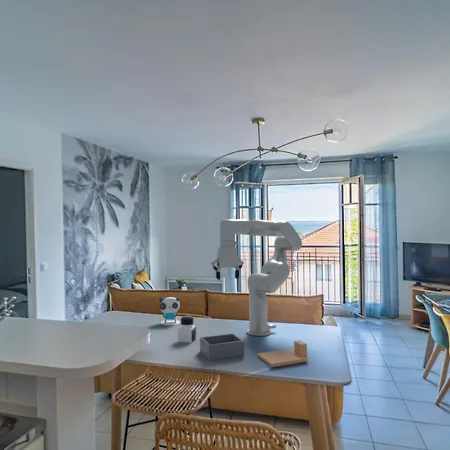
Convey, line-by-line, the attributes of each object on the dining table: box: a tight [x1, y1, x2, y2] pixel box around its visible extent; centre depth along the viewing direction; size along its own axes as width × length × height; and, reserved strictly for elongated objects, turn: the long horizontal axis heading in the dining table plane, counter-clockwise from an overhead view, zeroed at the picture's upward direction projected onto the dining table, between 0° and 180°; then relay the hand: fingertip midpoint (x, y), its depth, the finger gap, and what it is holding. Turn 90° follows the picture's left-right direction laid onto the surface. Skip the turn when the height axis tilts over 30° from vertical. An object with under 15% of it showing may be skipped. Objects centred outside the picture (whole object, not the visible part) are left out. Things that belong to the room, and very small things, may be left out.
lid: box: [256, 340, 309, 368], centre depth 146 cm, size 19×13×7 cm, turn 111°
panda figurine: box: [158, 296, 181, 326], centre depth 206 cm, size 12×11×15 cm
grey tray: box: [199, 332, 245, 362], centre depth 152 cm, size 16×12×7 cm
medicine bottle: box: [177, 315, 197, 344], centre depth 171 cm, size 7×7×12 cm
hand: (227, 279), depth 173 cm, fingers open, 9 cm apart
